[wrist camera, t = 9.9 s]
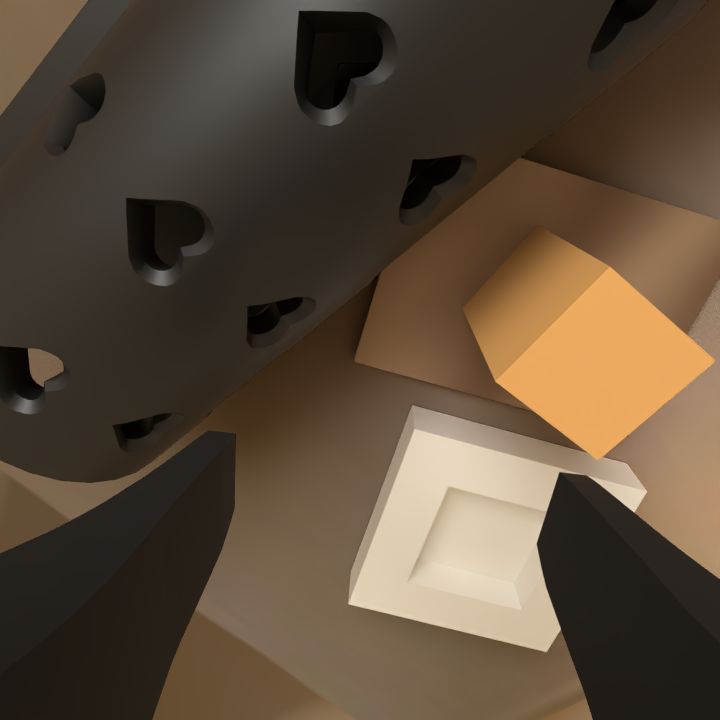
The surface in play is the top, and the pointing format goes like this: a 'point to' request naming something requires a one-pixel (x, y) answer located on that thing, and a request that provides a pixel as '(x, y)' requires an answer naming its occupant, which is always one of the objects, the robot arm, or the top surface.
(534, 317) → the plug
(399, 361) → the pad
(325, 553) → the top surface
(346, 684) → the top surface
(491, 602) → the socket block
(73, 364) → the muzzle brake
